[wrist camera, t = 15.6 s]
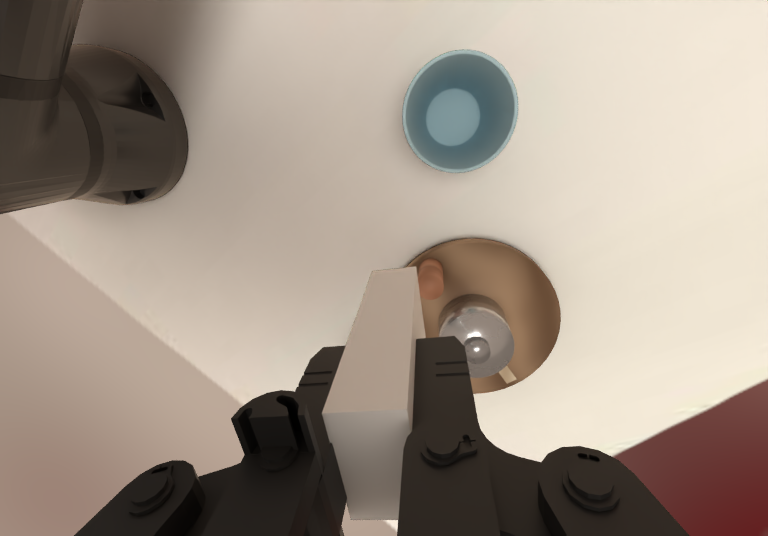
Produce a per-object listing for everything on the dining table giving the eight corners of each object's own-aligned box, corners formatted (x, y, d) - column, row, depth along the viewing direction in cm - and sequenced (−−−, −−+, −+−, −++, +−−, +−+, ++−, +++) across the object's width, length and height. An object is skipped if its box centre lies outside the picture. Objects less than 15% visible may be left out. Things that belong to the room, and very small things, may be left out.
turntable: (445, 406, 45) (446, 448, 40) (356, 295, 42) (343, 322, 36) (586, 339, 40) (612, 376, 34) (499, 203, 36) (511, 218, 30)
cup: (457, 177, 36) (465, 194, 27) (395, 128, 35) (380, 127, 26) (512, 109, 34) (543, 101, 24) (446, 54, 33) (451, 22, 23)
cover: (460, 362, 41) (464, 395, 36) (425, 314, 40) (424, 341, 34) (518, 333, 39) (531, 364, 34) (483, 281, 37) (491, 306, 32)
